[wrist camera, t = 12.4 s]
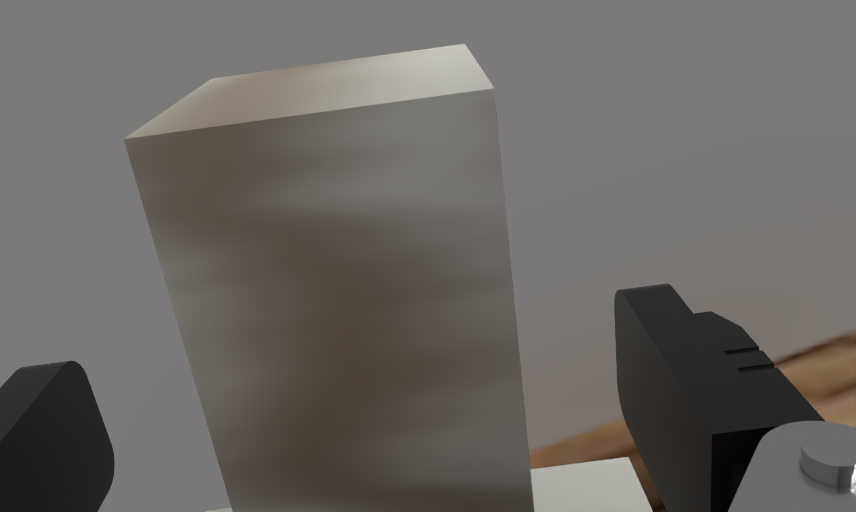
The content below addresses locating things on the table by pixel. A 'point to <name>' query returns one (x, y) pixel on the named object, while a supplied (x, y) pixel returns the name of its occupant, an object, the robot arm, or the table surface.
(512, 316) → the lettered block
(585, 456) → the table surface
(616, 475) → the plinth
